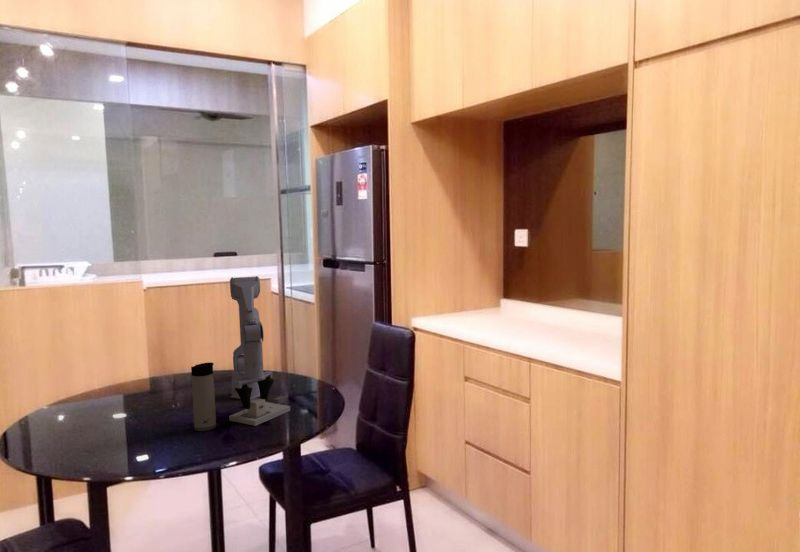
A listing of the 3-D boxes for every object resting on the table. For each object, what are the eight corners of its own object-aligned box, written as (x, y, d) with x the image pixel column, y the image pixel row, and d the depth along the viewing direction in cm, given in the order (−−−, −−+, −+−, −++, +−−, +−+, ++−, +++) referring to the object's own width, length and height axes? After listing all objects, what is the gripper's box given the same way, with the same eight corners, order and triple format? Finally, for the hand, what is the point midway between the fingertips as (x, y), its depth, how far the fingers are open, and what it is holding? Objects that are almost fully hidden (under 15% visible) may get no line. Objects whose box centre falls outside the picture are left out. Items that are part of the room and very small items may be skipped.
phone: (243, 407, 189) (242, 403, 189) (268, 397, 199) (267, 394, 199) (255, 409, 186) (254, 406, 186) (279, 399, 196) (279, 396, 196)
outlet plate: (229, 420, 175) (229, 415, 175) (265, 406, 189) (265, 401, 189) (255, 425, 170) (255, 420, 169) (290, 410, 183) (290, 405, 183)
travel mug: (210, 432, 165) (206, 365, 164) (190, 431, 167) (186, 365, 165) (221, 424, 171) (217, 360, 170) (201, 423, 173) (198, 360, 171)
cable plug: (265, 412, 185) (265, 405, 185) (260, 411, 186) (259, 404, 186) (286, 403, 194) (286, 396, 194) (281, 402, 195) (281, 395, 195)
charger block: (247, 420, 175) (246, 401, 175) (256, 416, 179) (255, 398, 178) (257, 422, 173) (256, 403, 173) (266, 418, 177) (265, 399, 176)
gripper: (245, 369, 167) (247, 413, 168) (279, 358, 179) (280, 400, 180) (229, 366, 170) (231, 410, 171) (262, 356, 183) (264, 397, 184)
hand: (255, 404), depth 176 cm, fingers open, 7 cm apart
